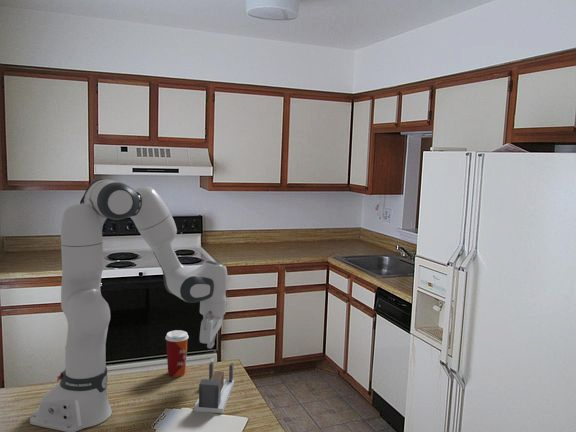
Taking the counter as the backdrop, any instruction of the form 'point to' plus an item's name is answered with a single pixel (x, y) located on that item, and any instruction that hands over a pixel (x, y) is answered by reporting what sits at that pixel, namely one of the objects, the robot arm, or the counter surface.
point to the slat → (218, 377)
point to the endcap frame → (214, 393)
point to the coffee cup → (176, 352)
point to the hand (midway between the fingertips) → (210, 346)
